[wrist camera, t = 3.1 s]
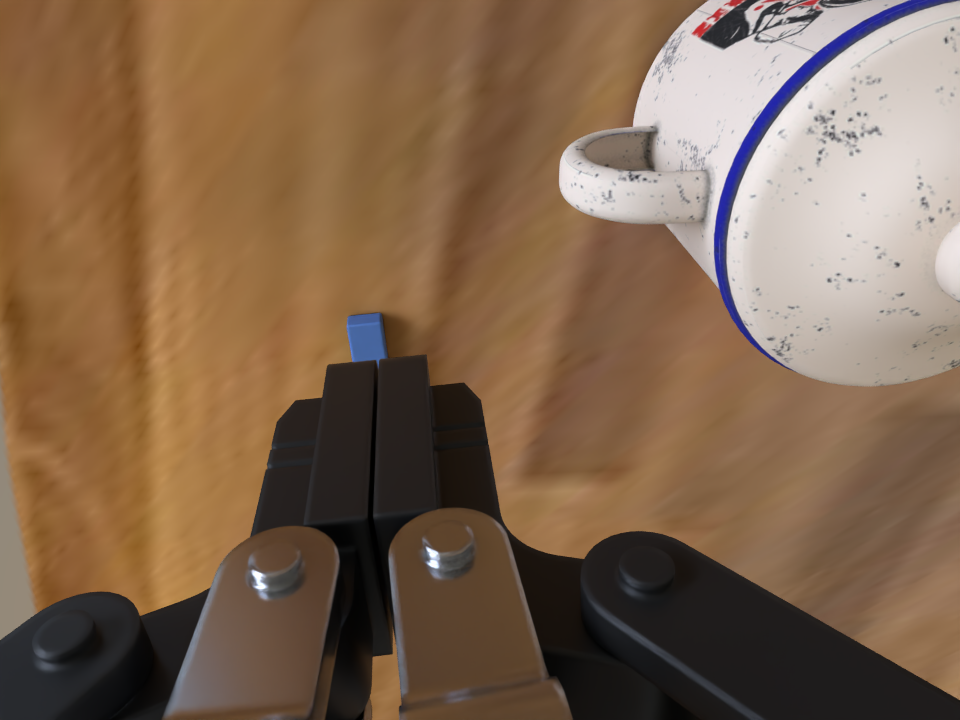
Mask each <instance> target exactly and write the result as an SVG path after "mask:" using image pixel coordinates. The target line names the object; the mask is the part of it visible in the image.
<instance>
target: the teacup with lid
mask: <svg viewBox="0 0 960 720" xmlns="http://www.w3.org/2000/svg"><path fill="white" fill-rule="evenodd" d="M559 186H560V190H561V193H562V195H563V197H564V198H565V199H566V201H567V202H568V203H569V204H571V205H572V206H573V207H574V208H576V209H578V210H579V211H581V212H583V213H586V214H588V215H591V216H594V217H598V218H602V219H606V220H611V221H616V222H623V223H633V224H666V226H667V227H668V228H669V229H670V230H671V232H672V233H673V234H674V235H675V237H676V238H677V239H678V240H679V241H680V243H681V244H682V245H683V246H684V247H685V249H686V250H687V251H688V252H689V253H690V255H691V256H692V257H693V258H694V259H695V261H696V262H697V263H698V264H699V265H700V267H701V268H702V269H703V270H704V271H705V273H706V274H707V275H708V276H709V277H710V279H711V280H712V281H713V282H714V283H715V285H716V286H717V287H718V288H719V289H720V292H721V295H722V298H723V300H724V303H725V305H726V307H727V309H728V311H729V313H730V315H731V317H732V319H733V321H734V322H735V324H736V325H737V327H738V328H739V330H740V331H741V332H742V333H743V335H744V336H745V337H746V338H747V339H748V340H749V342H750V343H751V344H753V345H754V346H755V347H756V348H757V349H758V350H759V351H760V352H761V353H763V354H764V355H766V356H767V357H768V358H770V359H771V360H773V361H774V362H776V363H778V364H780V365H782V366H783V367H785V368H787V369H790V370H792V371H795V372H797V373H800V374H802V375H805V376H807V377H810V378H813V379H816V380H820V381H824V382H828V383H834V384H840V385H850V386H885V385H895V384H901V383H906V382H912V381H916V380H920V379H924V378H927V377H931V376H934V375H937V374H940V373H943V372H946V371H949V370H951V369H953V368H956V367H958V366H960V0H709V1H707V2H706V3H705V4H703V5H702V6H701V7H700V8H698V9H697V10H696V11H695V12H694V13H693V14H691V15H690V16H689V17H688V18H687V19H686V20H685V21H684V22H683V23H682V24H681V25H680V26H679V27H678V29H677V30H676V31H675V32H674V33H673V34H672V36H671V37H670V38H669V39H668V41H667V42H666V43H665V45H664V46H663V48H662V49H661V51H660V52H659V54H658V55H657V57H656V59H655V60H654V62H653V64H652V66H651V68H650V70H649V72H648V74H647V76H646V79H645V81H644V83H643V86H642V89H641V92H640V95H639V98H638V101H637V106H636V110H635V115H634V122H633V127H626V128H616V129H609V130H603V131H599V132H595V133H592V134H589V135H586V136H584V137H582V138H580V139H578V140H576V141H575V142H573V143H572V144H571V145H569V146H568V147H567V149H566V150H565V151H564V153H563V155H562V157H561V160H560V170H559Z"/></svg>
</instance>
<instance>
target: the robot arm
mask: <svg viewBox="0 0 960 720" xmlns="http://www.w3.org/2000/svg"><path fill="white" fill-rule="evenodd" d="M267 468H268V469H266V471H265V476H264V480H263V484H262V489H261V493H260V497H259V502H258V506H257V510H256V515H255V519H254V523H253V527H252V532H251V536H250V538H248V539H246V540H245V541H243V542H242V543H240V544H239V545H238V546H236V547H235V548H234V549H233V550H232V551H231V552H230V553H229V554H228V555H227V556H226V557H225V558H224V560H223V561H222V563H221V564H220V566H219V568H218V570H217V572H216V575H215V577H214V580H213V583H212V585H211V587H210V588H209V589H207V590H205V591H203V592H201V593H200V594H198V595H195V596H193V597H191V598H188V599H186V600H183V601H180V602H178V603H175V604H172V605H169V606H167V607H164V608H161V609H158V610H156V611H153V612H150V613H148V614H145V615H142V616H140V615H139V613H138V610H137V608H136V607H135V605H134V604H133V603H132V602H131V601H130V600H129V599H127V598H126V597H124V596H122V595H119V594H115V593H111V592H90V593H85V594H80V595H76V596H73V597H69V598H66V599H64V600H61V601H59V602H57V603H54V604H53V605H51V606H49V607H47V608H45V609H43V610H42V611H40V612H39V613H37V614H36V615H34V616H33V617H31V618H30V619H28V620H27V621H26V622H24V623H23V624H22V625H21V626H19V627H18V628H16V629H15V630H14V631H12V632H11V633H10V634H8V635H7V636H5V637H4V638H3V639H1V640H0V720H372V705H371V700H370V694H371V686H372V657H373V656H381V655H390V654H393V630H394V635H395V641H396V646H397V657H398V668H399V678H400V689H401V702H402V706H399V720H960V700H958V699H957V698H955V697H953V696H951V695H950V694H948V693H946V692H944V691H943V690H941V689H939V688H937V687H936V686H934V685H932V684H930V683H929V682H927V681H925V680H923V679H922V678H920V677H918V676H916V675H914V674H913V673H911V672H909V671H907V670H906V669H904V668H902V667H900V666H899V665H897V664H895V663H893V662H892V661H890V660H888V659H886V658H885V657H883V656H881V655H879V654H878V653H876V652H874V651H872V650H871V649H869V648H867V647H865V646H864V645H862V644H860V643H858V642H857V641H855V640H853V639H851V638H850V637H848V636H846V635H844V634H843V633H841V632H839V631H837V630H835V629H834V628H832V627H830V626H828V625H827V624H825V623H823V622H821V621H820V620H818V619H816V618H814V617H813V616H811V615H809V614H807V613H806V612H804V611H802V610H800V609H799V608H797V607H795V606H793V605H792V604H790V603H788V602H786V601H785V600H783V599H781V598H779V597H778V596H776V595H774V594H772V593H771V592H769V591H767V590H765V589H764V588H762V587H760V586H758V585H756V584H755V583H753V582H751V581H749V580H748V579H746V578H744V577H742V576H741V575H739V574H737V573H735V572H734V571H732V570H730V569H728V568H727V567H725V566H723V565H721V564H720V563H718V562H716V561H714V560H713V559H711V558H709V557H707V556H706V555H704V554H702V553H700V552H699V551H697V550H695V549H693V548H692V547H690V546H688V545H686V544H685V543H683V542H681V541H679V540H677V539H674V538H672V537H669V536H666V535H663V534H658V533H654V532H644V531H635V532H625V533H620V534H617V535H613V536H610V537H608V538H606V539H604V540H602V541H601V542H599V543H598V544H596V545H595V546H594V547H593V548H592V549H591V550H590V551H589V552H588V554H587V556H586V557H585V559H579V558H572V557H565V556H558V555H553V554H548V553H544V552H541V551H538V550H536V549H533V548H531V547H529V546H527V545H525V544H524V543H522V542H521V541H519V540H518V539H517V538H516V537H515V536H513V535H512V534H511V533H510V531H509V530H508V529H507V528H506V526H505V524H504V522H503V520H502V517H501V513H500V508H499V502H498V496H497V491H496V485H495V479H494V473H493V467H492V462H491V456H490V450H489V445H488V439H487V433H486V427H485V421H484V416H483V410H482V404H481V400H480V399H479V398H478V397H477V396H476V395H475V394H474V393H473V392H472V391H471V390H470V388H469V387H468V386H467V385H466V384H465V383H455V384H446V385H436V386H430V379H429V370H428V362H427V355H426V354H425V355H415V356H405V357H396V358H386V359H380V360H379V369H378V364H377V361H376V360H368V361H359V362H349V363H339V364H329V365H328V366H327V370H326V377H325V383H324V390H323V396H322V398H315V399H305V400H296V401H295V402H294V403H293V404H292V405H291V406H290V408H289V409H288V410H287V411H286V412H285V413H284V415H283V416H282V417H281V418H280V419H279V420H278V421H277V424H276V428H275V433H274V437H273V441H272V450H270V454H269V459H268V463H267Z"/></svg>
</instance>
